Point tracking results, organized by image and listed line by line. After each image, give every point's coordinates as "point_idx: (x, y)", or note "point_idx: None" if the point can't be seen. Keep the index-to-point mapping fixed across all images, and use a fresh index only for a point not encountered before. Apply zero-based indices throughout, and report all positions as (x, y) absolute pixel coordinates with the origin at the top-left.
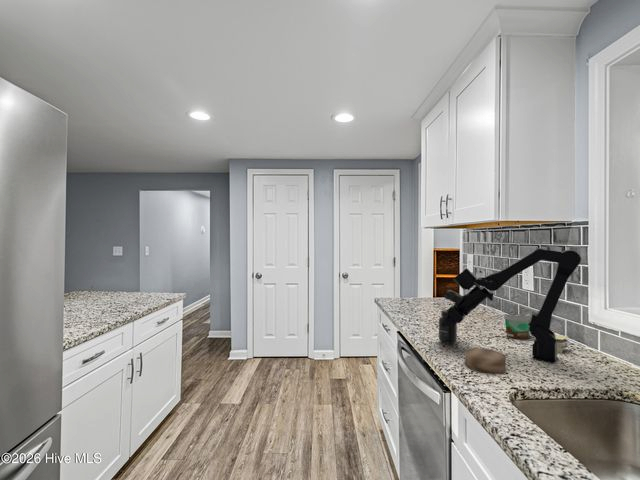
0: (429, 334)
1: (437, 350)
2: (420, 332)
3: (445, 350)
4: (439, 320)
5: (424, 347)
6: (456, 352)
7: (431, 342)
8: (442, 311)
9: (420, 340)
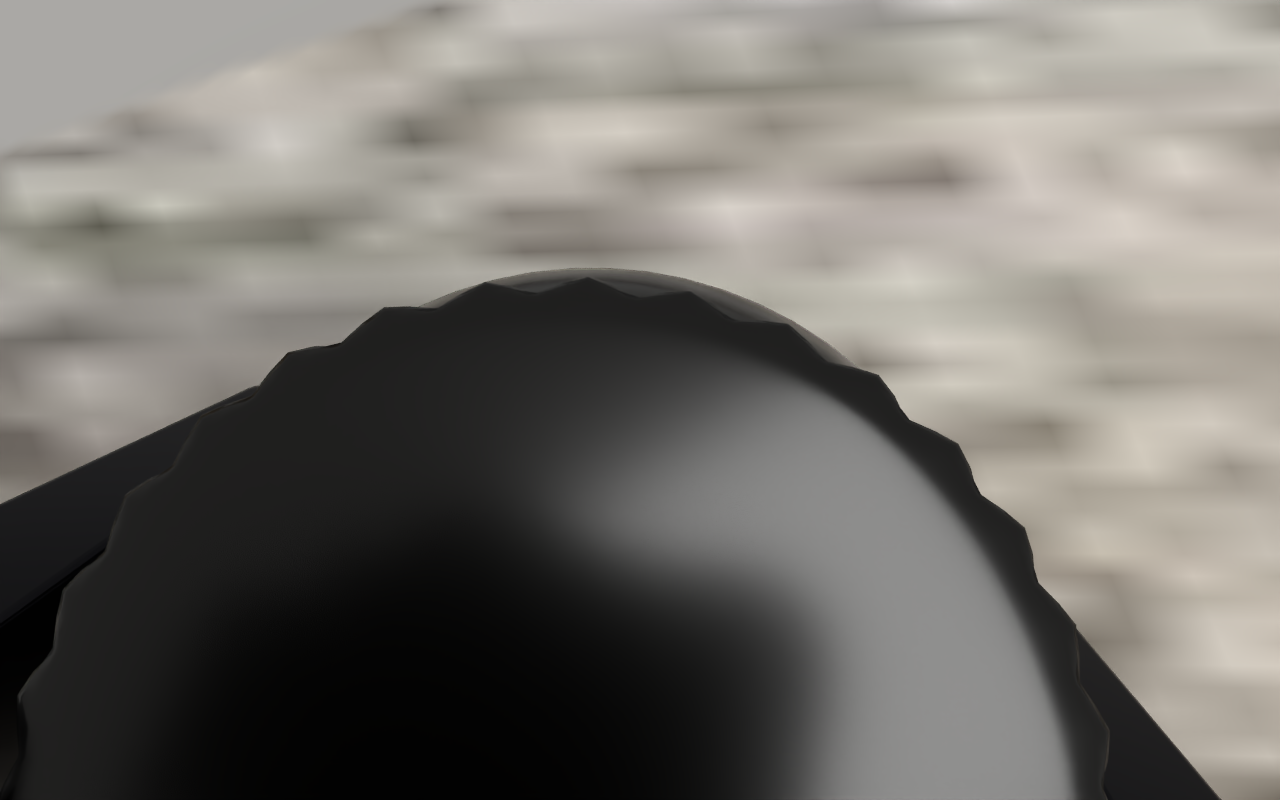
0: (1179, 196)
1: (65, 380)
2: (1260, 9)
3: None
4: (449, 294)
5: (190, 133)
6: None
7: (581, 253)
8: (340, 348)
9: (648, 39)
